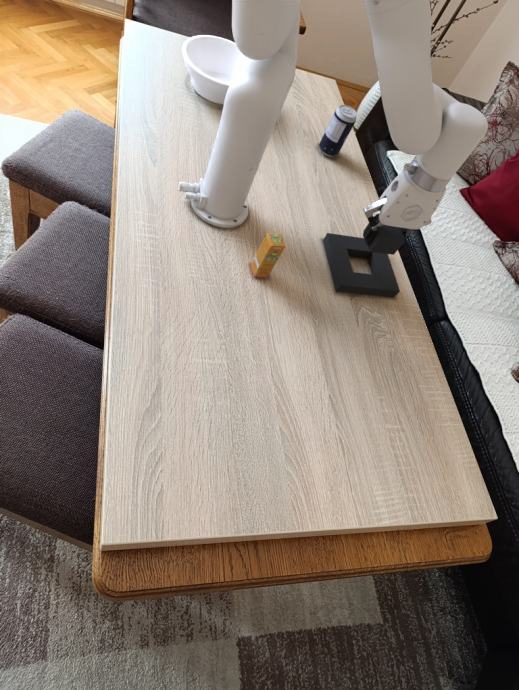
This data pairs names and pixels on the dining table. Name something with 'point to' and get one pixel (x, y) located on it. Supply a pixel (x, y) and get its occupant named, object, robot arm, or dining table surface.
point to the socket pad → (353, 282)
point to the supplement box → (267, 255)
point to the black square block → (387, 240)
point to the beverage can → (338, 130)
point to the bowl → (211, 65)
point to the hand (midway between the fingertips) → (379, 241)
